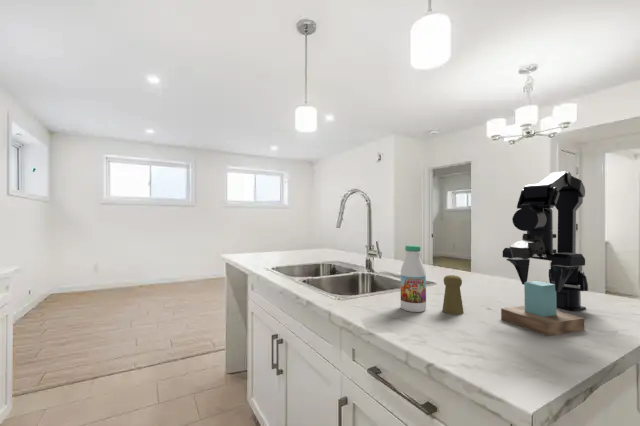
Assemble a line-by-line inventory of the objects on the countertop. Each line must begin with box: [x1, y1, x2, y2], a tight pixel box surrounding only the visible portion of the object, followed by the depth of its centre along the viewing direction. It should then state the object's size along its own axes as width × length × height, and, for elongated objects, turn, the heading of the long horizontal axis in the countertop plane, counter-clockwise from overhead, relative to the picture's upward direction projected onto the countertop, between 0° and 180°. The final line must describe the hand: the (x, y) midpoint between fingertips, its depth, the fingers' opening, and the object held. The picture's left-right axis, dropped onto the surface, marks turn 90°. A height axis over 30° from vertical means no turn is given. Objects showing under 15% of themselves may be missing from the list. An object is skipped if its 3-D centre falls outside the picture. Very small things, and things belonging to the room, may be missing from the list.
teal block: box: [523, 280, 558, 317], centre depth 83 cm, size 5×5×8 cm
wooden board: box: [500, 305, 586, 337], centre depth 83 cm, size 13×13×3 cm
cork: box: [442, 274, 464, 316], centre depth 94 cm, size 6×6×11 cm
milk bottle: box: [400, 244, 427, 313], centre depth 97 cm, size 8×8×20 cm
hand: (540, 287), depth 83 cm, fingers open, 9 cm apart
